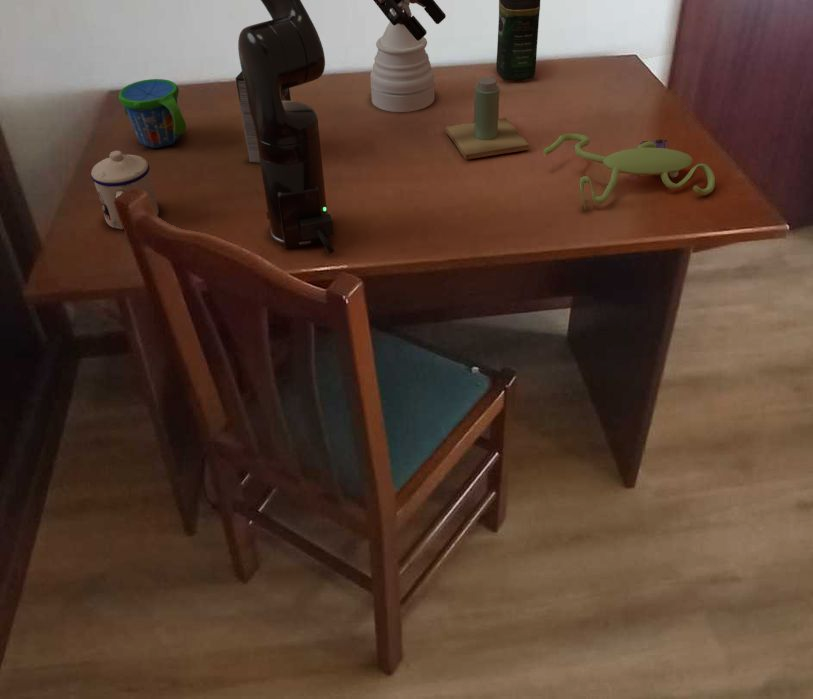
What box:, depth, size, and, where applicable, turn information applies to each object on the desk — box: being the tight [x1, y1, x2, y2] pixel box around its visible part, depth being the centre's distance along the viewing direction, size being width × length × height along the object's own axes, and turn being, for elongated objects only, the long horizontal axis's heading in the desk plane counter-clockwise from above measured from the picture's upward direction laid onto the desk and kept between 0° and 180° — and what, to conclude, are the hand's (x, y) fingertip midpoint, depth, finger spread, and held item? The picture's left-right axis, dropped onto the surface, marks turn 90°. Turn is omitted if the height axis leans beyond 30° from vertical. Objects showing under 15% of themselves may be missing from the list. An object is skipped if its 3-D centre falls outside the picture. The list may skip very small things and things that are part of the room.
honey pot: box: [369, 10, 435, 113], centre depth 171 cm, size 13×13×18 cm
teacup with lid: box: [90, 150, 159, 231], centre depth 139 cm, size 12×9×12 cm
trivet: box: [445, 117, 530, 160], centre depth 160 cm, size 12×12×1 cm
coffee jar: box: [495, 0, 541, 83], centre depth 179 cm, size 10×8×19 cm
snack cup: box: [118, 78, 187, 149], centre depth 163 cm, size 16×10×10 cm
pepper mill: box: [473, 76, 500, 140], centre depth 157 cm, size 4×4×10 cm
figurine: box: [542, 133, 716, 211], centre depth 147 cm, size 18×27×6 cm
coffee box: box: [235, 70, 292, 164], centre depth 155 cm, size 9×6×16 cm
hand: (432, 28), depth 152 cm, fingers open, 8 cm apart
